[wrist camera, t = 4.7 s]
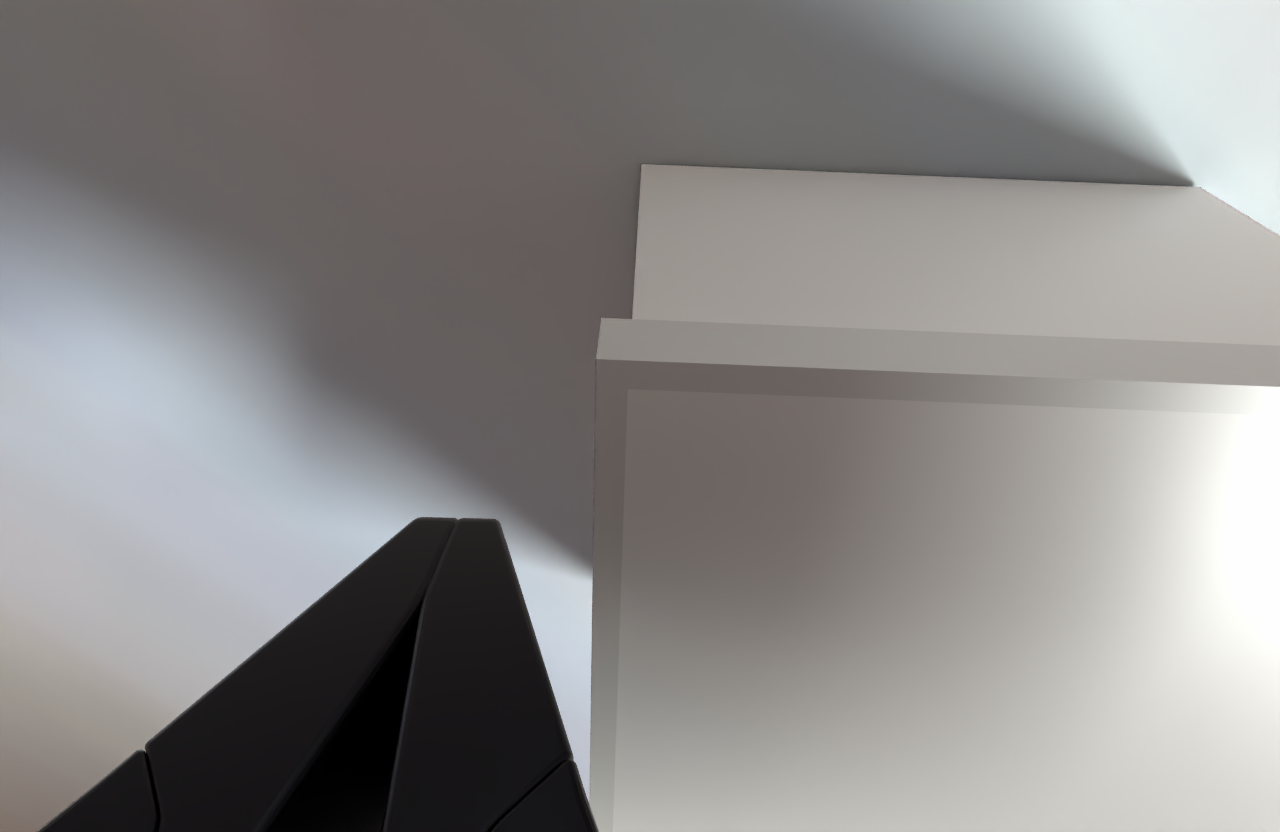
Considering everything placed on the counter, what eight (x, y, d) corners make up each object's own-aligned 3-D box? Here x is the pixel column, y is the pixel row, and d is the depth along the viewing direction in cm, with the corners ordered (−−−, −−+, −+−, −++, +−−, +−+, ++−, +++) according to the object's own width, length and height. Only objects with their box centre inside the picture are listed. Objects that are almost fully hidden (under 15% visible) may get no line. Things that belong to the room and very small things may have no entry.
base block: (1066, 621, 13) (1259, 987, 9) (610, 603, 13) (587, 959, 9) (1224, 169, 10) (1645, 402, 6) (623, 144, 10) (597, 358, 6)
